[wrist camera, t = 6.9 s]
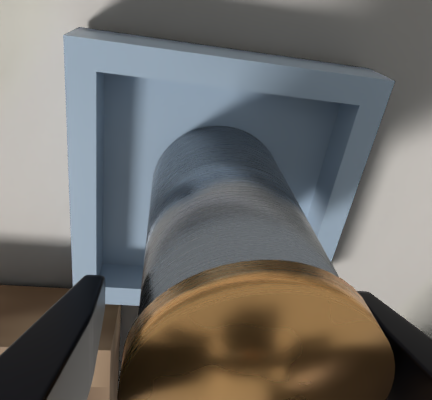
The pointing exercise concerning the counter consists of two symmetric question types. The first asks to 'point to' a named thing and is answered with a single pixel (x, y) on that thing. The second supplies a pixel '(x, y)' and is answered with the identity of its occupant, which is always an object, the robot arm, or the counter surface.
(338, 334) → the pin
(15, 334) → the brown square frame
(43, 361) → the robot arm
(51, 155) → the counter surface
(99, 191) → the tray
